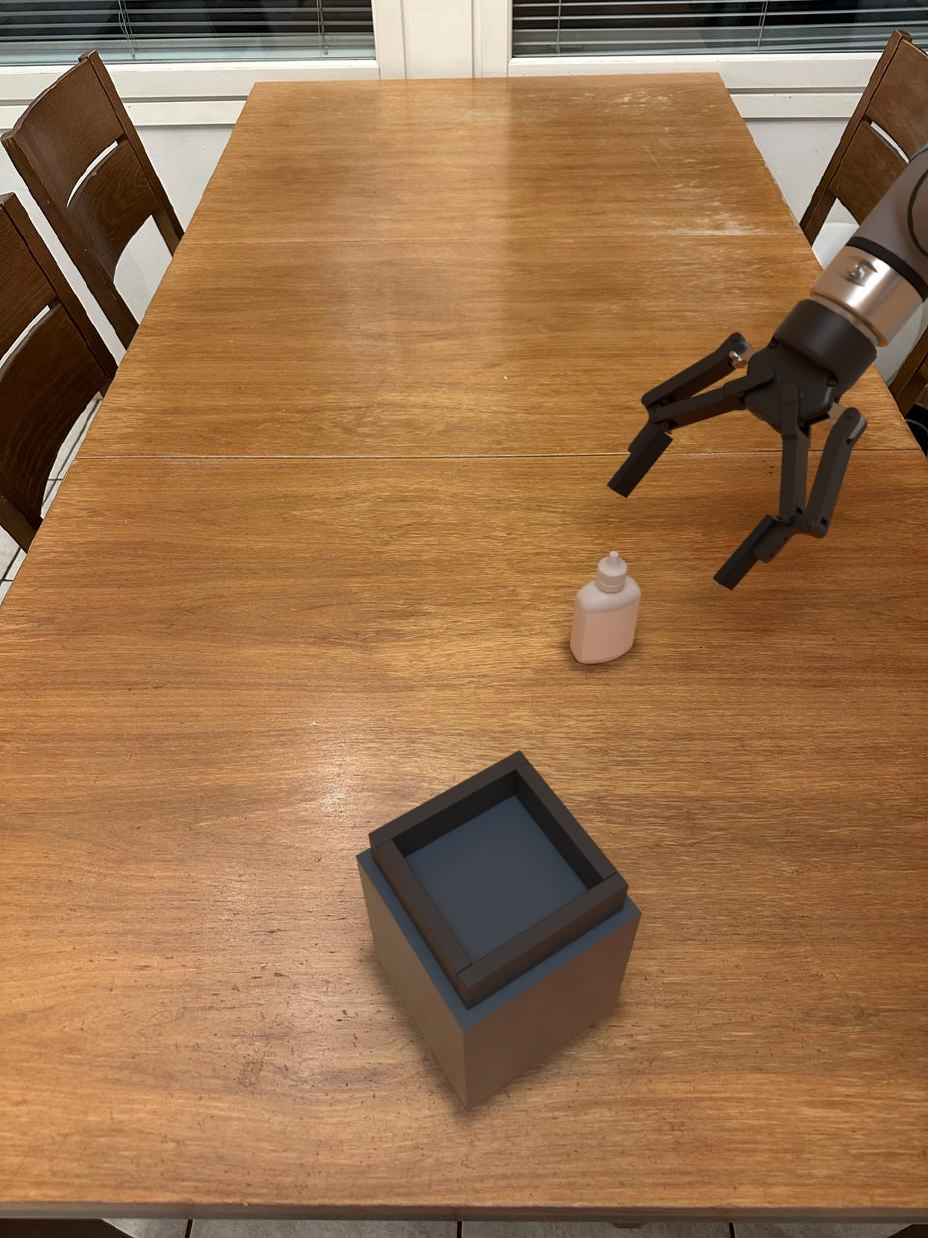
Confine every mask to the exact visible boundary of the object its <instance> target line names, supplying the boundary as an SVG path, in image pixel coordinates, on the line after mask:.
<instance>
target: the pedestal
mask: <svg viewBox="0 0 928 1238" xmlns="http://www.w3.org/2000/svg"><path fill="white" fill-rule="evenodd" d="M367 835H368V841H369V846H370V847H368V848H366V849H365V850H363V851H361V852H360V853H359V852H358V854H356V855H355V859H356V863H357V869H358V874H359V878H360V883H361V888H362V893H363V897H364V903H365V907H366V912H367V916H368V921H369V927H370V931H371V935H372V940H373V941H372V942H373V945H374V951H375V954H376V958H377V960H378V961H379V963H380V965H381V966H382V968H383V970H384V972H385V974H386V976H387V977H388V979H389V981H390V982H391V984H392V986H393V987H394V989H395V991H396V992H397V994H398V996H399V998H400V999H401V1001H402V1003H403V1005H404V1006H405V1008H406V1010H407V1012H408V1013H409V1015H410V1017H411V1018H412V1021H414V1024H415V1025H416V1027H417V1028H418V1030H419V1032H420V1034H421V1035H422V1038H423V1039H424V1041H425V1042H426V1044H427V1046H428V1047H429V1050H430V1051H431V1053H432V1054H433V1056H434V1057H435V1060H436V1061H437V1063H438V1065H439V1066H440V1068H441V1070H442V1071H443V1073H444V1074H445V1075H444V1076H445V1077H446V1078H447V1080H448V1082H449V1083H450V1085H451V1087H452V1089H453V1090H454V1092H455V1094H456V1095H457V1097H458V1099H459V1101H460V1102H461V1104H462V1106H463V1108H464V1110H465V1111H466V1112H469V1111H471V1110H472V1109H474V1107H476V1106H478V1105H479V1104H481V1103H482V1102H483V1101H485V1100H486V1099H488V1098H489V1097H491V1096H492V1095H494V1094H495V1093H496V1092H497V1091H499V1090H501V1089H502V1088H503V1087H505V1086H506V1085H508V1084H509V1083H511V1082H512V1081H513V1080H515V1079H516V1078H518V1077H519V1076H521V1075H522V1074H524V1073H525V1072H526V1071H528V1070H529V1069H531V1068H532V1067H534V1066H535V1065H536V1064H538V1063H540V1061H542V1060H543V1059H545V1058H547V1056H549V1055H551V1054H552V1053H553V1052H555V1051H556V1050H557V1049H559V1048H560V1047H562V1046H564V1045H565V1044H566V1043H568V1042H569V1041H571V1040H572V1039H574V1038H575V1037H576V1036H578V1035H579V1034H580V1033H582V1032H584V1031H585V1030H587V1029H588V1028H589V1027H590V1026H592V1025H594V1024H595V1023H597V1022H598V1021H599V1020H601V1019H603V1018H604V1017H605V1016H606V1015H608V1014H609V1013H610V1012H612V1011H613V1010H615V1009H616V1006H617V1002H618V999H619V996H620V992H621V987H622V985H623V980H624V977H625V974H626V971H627V967H628V964H629V960H630V956H631V954H632V950H633V946H634V942H635V939H636V935H637V932H638V928H639V926H640V921H641V919H642V915H643V912H642V911H641V910H640V909H639V907H638V906H637V905H636V903H635V902H634V901H633V900H632V898H631V897H630V896H629V895H628V890H629V887H630V886H629V885H630V884H629V883H628V882H627V881H626V880H625V878H624V877H623V875H622V874H621V873H620V872H619V871H618V869H617V868H616V866H615V865H614V864H613V863H612V862H611V860H610V859H609V858H608V857H607V855H606V854H605V853H604V852H603V851H602V850H601V848H600V847H599V846H598V844H597V843H596V842H595V840H593V838H592V837H591V836H590V835H589V833H588V832H587V831H586V830H585V828H584V827H583V826H582V824H580V822H579V821H578V820H577V818H576V817H575V816H574V815H573V814H572V812H571V811H570V810H569V808H568V807H567V806H566V805H565V804H564V803H563V801H562V800H561V798H559V796H558V795H557V794H556V793H555V791H554V790H553V789H552V788H551V786H550V785H549V784H548V783H547V782H546V780H545V779H544V778H543V777H542V775H541V774H540V773H539V771H538V770H537V769H536V768H535V767H534V766H533V764H532V763H531V762H530V761H529V759H528V758H527V757H526V756H525V754H524V753H523V752H522V751H521V749H518V750H517V751H515V752H513V753H511V754H509V755H508V756H506V757H504V758H502V759H501V760H499V761H497V762H495V763H493V764H491V765H490V766H487V767H486V768H484V769H483V770H480V771H479V772H476V773H475V774H473V775H472V776H470V777H468V778H466V779H464V780H463V781H461V782H459V783H457V784H455V785H454V786H451V787H450V788H447V789H446V790H444V791H443V792H441V793H439V794H437V795H436V796H435V795H434V797H431V798H430V799H428V800H426V801H425V802H423V803H421V804H419V805H417V806H416V807H414V808H412V809H409V810H408V811H406V812H405V813H402V814H401V815H399V816H397V817H396V818H394V819H392V820H390V821H389V822H387V823H385V824H382V825H381V826H379V827H377V828H376V829H374V830H372V831H370V832H368V833H367Z"/></svg>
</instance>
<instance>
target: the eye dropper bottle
mask: <svg viewBox="0 0 928 1238" xmlns="http://www.w3.org/2000/svg"><path fill="white" fill-rule="evenodd" d="M627 573H628V565H627V562H625V560H624V559H622V558H621V557H620V553H619V552H618V551H616V550H612V551H610V552H609V555H608V556H605V557H603V558H601V559H600V560H599V561H598V564H597V569H596V575H595V576H596V577H595V578H593V579H592V580H591V581H589V582H587V583H585V584H584V585H583V586H582V587H581V588H580V589H579V590H578V591H577V593H576V594H575V597H574V605H573V613H572V620H571V621H572V622H571V629H570V631H571V632H570V641H569V648H570V651H571V653H572V655H573V656H574V659H576V661H577V662H578V663H581V664H586V665H588V664H589V665H590V664H591V665H593V664H594V665H595V664H603V663H607V662H611V661H614V660H616V659H618V658H620V657H622V656H623V655H625V654H626V653H628V652H629V651H630V650H631V649H632V647H633V645H634V641H635V634H636V630H637V624H638V617H639V612H640V606H641V599H642V590H641V588H640V586H639V584H638V583H637V581H636V580H635V579H634V578H633V577H631V576H628V575H627Z"/></svg>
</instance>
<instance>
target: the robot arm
mask: <svg viewBox="0 0 928 1238" xmlns="http://www.w3.org/2000/svg"><path fill="white" fill-rule="evenodd" d="M808 290H809V292H808V293H809V297H810V298H803V299H800V300H798V301H797V303H796V304H795V305H794V307H793V308H792V309H791V310H790V311H789V313H788V314H787V315H786V316H785V317H784V318H783V320H782V321H781V322H780V324H779V325H778V326H777V327H776V329H775V330H774V332H773V334H772V336H771V338H770V340H769V342H768V343H767V345H766V346H764V347H763V348H761V349H759V350H758V351H757V350H756V349H755V348H754V347H753V345H752V344H751V343H750V342H749V341H748V340H747V339H746V337H744V336H743V334H742V333H741V332H739V331H735V332H732V333H731V334H730V335H729V336H728V337H727V338H726V339H725V340H724V341H723V342H722V343H721V344H720V346H719V347H718V348H716V349H715V350H714V351H713V352H711V353H709V354H707V355H706V356H704V357H703V358H701V359H700V360H698V361H696V362H695V363H693V364H691V365H690V366H688V367H686V368H684V369H683V370H681V371H679V372H678V373H676V374H675V375H673V376H671V377H669V378H667V380H665V381H663V382H661V383H660V384H658V385H657V386H654V387H653V388H652V389H650V390H648V391H647V392H645V393H644V394H643V395H642V396H641V398H640V403H641V405H642V406H643V407H644V408H645V410H646V412H647V414H648V420H647V422H646V423H645V424H644V426H643V427H642V428H641V429H640V431H639V432H638V433H637V435H636V436H634V439H633V440H632V441H631V442H630V443H629V445H628V447H627V450H626V451H627V452H628V453H630V454H629V456H628V457H627V458H626V460H625V461H624V462H623V463H622V464H621V466H620V467H619V469H617V471H616V472H615V474H614V475H613V476H612V477H611V479H610V480H609V481H608V483H606V486H607V487H608V488H609V489H610V490H611V491H613V492H615V493H616V494H618V495H620V496H622V497H623V498H625V499H628V497H629V496H630V495H631V494H632V492H633V491H634V490H635V489H636V488H637V486H638V485H639V483H641V481H642V480H643V479H644V477H645V476H646V475H647V474H648V472H649V471H650V470H651V468H652V467H654V466H655V463H656V462H657V461H658V460H659V458H660V457H661V456H662V454H664V452H665V451H666V450H667V449H668V447H669V446H670V445H671V443H672V442H673V441H674V438H672V437H671V436H670V435H673V431H674V430H677V429H680V428H683V427H687V426H690V425H693V424H696V423H700V422H702V421H705V420H709V419H711V418H715V417H719V416H721V415H725V414H727V413H730V412H735V411H739V412H742V411H746V410H747V411H748V412H749V413H751V415H753V416H754V417H755V418H757V420H760V421H762V422H765V423H766V424H767V425H768V426H769V427H770V428H771V429H772V430H773V431H775V432H776V433H778V434H779V435H780V437H781V440H782V441H781V442H782V446H781V447H782V449H781V465H780V466H781V468H780V484H779V485H780V486H779V487H780V488H779V502H778V503H779V504H778V514H774V517H775V518H774V517H773V516H772V515H770V514H769V513H767V514H765V516H764V517H763V518H762V519H761V520H760V521H759V523H758V524H757V525H756V526H755V527H754V528H753V530H752V531H751V532H750V533H749V534H748V536H747V537H746V538H745V539H744V540H743V541H742V542H741V544H740V545H739V546H738V547H737V548H736V549H735V551H734V552H733V553H732V554H731V555H730V557H729V558H728V559H727V560H726V561H725V562H724V563H723V565H721V566H720V568H719V569H718V570H717V572H716V573H715V574H714V575H713V576H712V579H713V580H714V581H715V582H716V583H717V585H718V584H719V585H720V586H722V587H723V588H726V589H728V590H730V591H731V592H732V591H733V590H734V589H735V588H736V587H737V586H738V585H739V584H740V582H741V581H742V580H743V579H744V578H745V577H746V575H747V574H748V573H749V572H750V571H751V570H752V568H753V567H754V566H755V565H756V564H757V563H758V561H760V562H762V563H764V564H768V563H770V562H771V561H773V560H774V558H775V557H777V555H778V554H779V553H780V551H782V549H783V548H784V547H785V546H786V545H787V544H788V543H789V542H790V540H791V539H792V538H793V537H794V536H795V535H799V534H802V535H806V536H810V537H813V538H814V539H817V540H821V539H823V538H825V537H826V536H827V534H828V533H829V528H830V525H831V522H832V519H833V515H834V512H835V508H836V504H837V502H838V499H839V495H840V491H841V488H842V485H843V481H844V478H845V475H846V471H847V468H848V465H849V462H850V458H851V455H852V451H853V448H854V447H855V445H856V444H857V442H858V441H859V440H860V438H861V437H862V435H864V432H865V431H866V430H867V428H868V421H867V419H866V418H865V417H864V416H863V414H862V413H861V412H860V411H859V409H858V408H856V407H855V406H848V407H846V406H844V405H841V404H840V400H841V399H842V397H843V396H844V394H845V393H847V392H848V391H849V390H850V389H852V388H853V386H854V385H855V384H856V383H857V382H858V381H859V379H860V378H862V376H863V375H864V374H865V372H867V370H868V369H869V368H870V367H871V366H872V364H873V363H874V362H875V361H876V359H877V358H878V356H877V354H878V350H877V348H885V347H888V346H889V345H890V344H891V342H893V340H894V338H896V336H897V335H898V334H899V333H900V331H901V330H902V329H903V327H904V326H905V325H906V324H907V323H908V321H910V319H911V318H912V317H913V315H914V314H915V313H916V312H917V311H918V309H919V308H920V307H921V305H923V304H924V303H925V302H926V301H927V299H928V142H926V143H925V145H923V146H922V148H921V149H919V150H917V151H916V152H915V153H914V154H913V155H912V156H911V157H910V158H909V159H908V161H907V164H906V166H905V167H904V170H903V171H902V172H901V173H900V175H899V176H898V177H897V179H896V180H895V181H894V182H893V183H892V185H891V186H890V188H889V189H888V190H887V191H886V193H885V194H884V195H883V196H882V197H881V198H880V199H879V201H878V202H877V204H876V205H875V206H874V207H873V209H872V210H871V211H870V212H869V214H868V215H867V216H866V217H865V219H864V220H863V221H862V222H861V223H860V225H859V226H858V228H857V229H855V231H854V232H853V233H852V235H851V236H850V238H849V239H848V240H847V242H846V243H845V244H844V245H843V246H842V247H841V249H840V250H838V252H837V253H836V255H835V256H834V257H833V259H832V260H831V261H830V262H829V263H828V265H827V266H826V267H825V268H824V269H823V271H822V272H821V274H819V276H818V277H817V279H816V280H815V281H814V282H813V283H812V285H811V286H810V288H809V289H808ZM744 368H746V374H745V375H744V376H741V377H739V378H738V377H737V378H735V379H732V380H729V381H726V382H724V383H723V386H720V387H717V388H714V389H711V390H708V391H705V392H703V391H704V390H705V389H708V388H709V387H711V386H712V385H714V384H716V383H717V382H720V381H721V380H722V379H724V378H727V376H729V375H730V374H732V373H734V371H736V370H737V369H744ZM700 392H701V393H700ZM699 393H700V394H699ZM829 419H830V420H829ZM826 420H829V423H828V431H829V433H828V435H827V437H826V441H825V444H824V447H823V450H822V453H821V456H820V460H819V464H818V467H817V470H816V474H815V478H814V480H813V484H812V487H811V490H810V494H809V497H808V500H807V483H808V464H809V450H810V448H811V446H812V427H813V425H815V424H818V423H822V422H824V421H826Z"/></svg>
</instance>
